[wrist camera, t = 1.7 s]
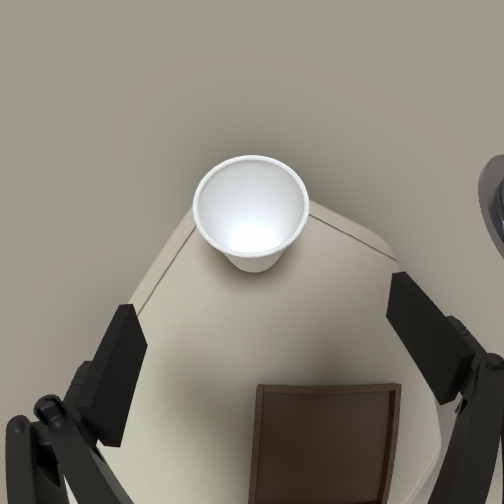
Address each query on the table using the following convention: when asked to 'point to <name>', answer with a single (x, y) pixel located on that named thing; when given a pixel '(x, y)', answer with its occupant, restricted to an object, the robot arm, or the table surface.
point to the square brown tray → (324, 444)
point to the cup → (251, 210)
